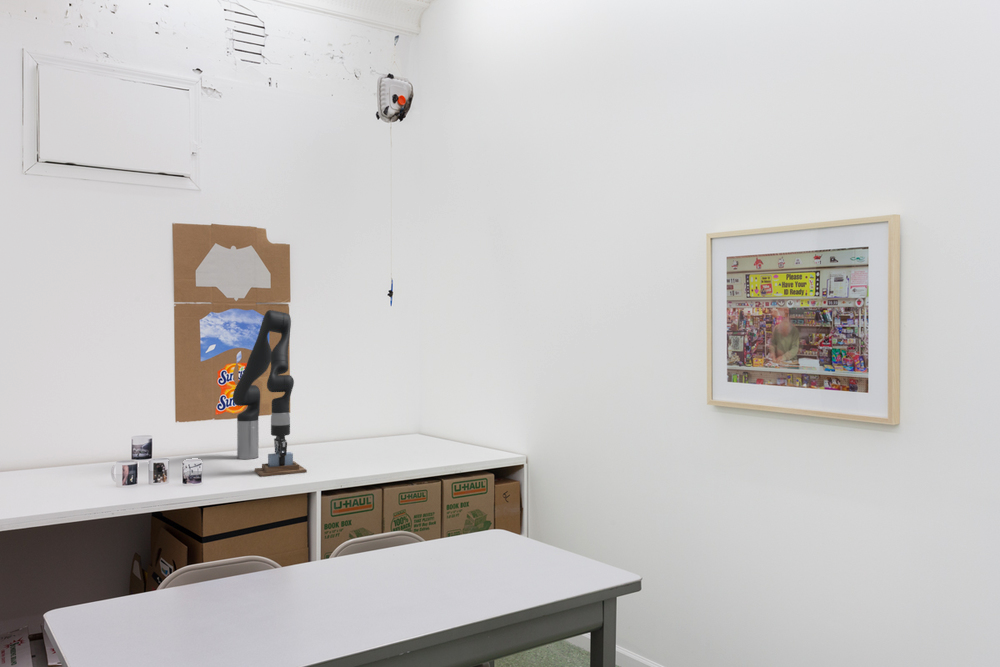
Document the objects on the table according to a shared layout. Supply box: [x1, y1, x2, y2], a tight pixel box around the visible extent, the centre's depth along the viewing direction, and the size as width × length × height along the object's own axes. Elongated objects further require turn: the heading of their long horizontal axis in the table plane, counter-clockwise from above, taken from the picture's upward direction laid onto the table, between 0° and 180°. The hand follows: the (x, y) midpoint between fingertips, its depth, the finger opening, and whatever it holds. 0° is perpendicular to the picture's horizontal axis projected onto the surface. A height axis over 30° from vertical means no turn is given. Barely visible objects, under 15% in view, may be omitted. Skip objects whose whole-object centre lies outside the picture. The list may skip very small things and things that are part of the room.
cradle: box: [254, 460, 307, 478], centre depth 290 cm, size 14×18×3 cm
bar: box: [267, 451, 294, 467], centre depth 290 cm, size 9×4×5 cm, turn 120°
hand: (280, 464), depth 290 cm, fingers closed on bar, 4 cm apart
